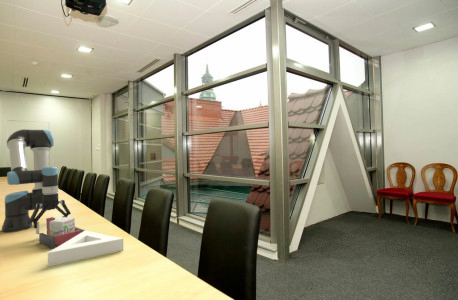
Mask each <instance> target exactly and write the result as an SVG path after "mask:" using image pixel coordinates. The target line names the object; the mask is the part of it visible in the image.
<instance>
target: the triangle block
mask: <svg viewBox="0 0 458 300" xmlns="http://www.w3.org/2000/svg"><path fill="white" fill-rule="evenodd" d="M84 230H85V229H84ZM124 248H125V247H124V238H122V237H119V236H112V235H109V234H105V233H100V232H99V233H98V232H96V231H95V232H93V231H91V230H85V231H83V232H82V233H80V234H78V235H77V236H75V237H73V238H72V239H70V240H68V241H67V242H65V243H63V244H62V245H60V246H56V247H55V248H54V249H51V250H50V251H48V253H47V266H48V267H52V266H55V265H61V264H66V263H70V262H75V261H80V259H81V260H83V259H84V260H85V259H90V258H94V257H99V256H103V255H108V254H112V253H116V252H121V251H124Z"/></svg>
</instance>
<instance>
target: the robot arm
mask: <svg viewBox="0 0 458 300" xmlns="http://www.w3.org/2000/svg"><path fill="white" fill-rule="evenodd" d="M54 144H55V143H54V138H53V134H52V131H50V130H48V129H46V130H45V129H25V128H24V129H23V128H22V129H17V130H16V131H15V132H12V133H11V134H10V135H9V136H8V138H7V139H6V146H7V149H8V150H9V159H10V160H9V161H10V163H9V164H10V171H8V172H7V173H6V176H7V177H6V180H7V185H10V186H14V185H16V186H17V185H27V184H28V185H29V184H34V187H33V188H32V189H31V192H29V191H28V190H19V191H16V192H11V193H8V194H7V195H4V202H3V203H4V214H5V215H4V219H3V220H4V221H3V223H2V226H1V232H2V233H13V232H19V231H24V230H28V229H30V228H32V227H33V228H34V229H35V234H36V235H39V234H40V222H39V220H40V219H41V217H42V216H43V215H44V214H45V212H47V211H51V210H57V211H58V212H59V213H60V214H61V215H62V217H63V218H64V217H68V216H69V215H71V211H70V209H69V208H68V206H67V204H66V202H65V200H64V199H61V200H59V182H58V181H59V172H58V171H59V170H58V167H57V166H50V153H49V152H50V151H51V150H52V147H54ZM27 147H28V148H30V151H32V152H33V153H32V154H33V155H32V156H33V170H28V169H29V168H28V163H27V156H26V155H27V154H26V148H27ZM59 204H60V205H61V207H62V208H63V209H62V208H61V207H60V206H59ZM30 211H33V212H32V213H31V216H30V215H29V214H30V213H29V212H30ZM39 211H40V212H39ZM62 217H61V218H62Z"/></svg>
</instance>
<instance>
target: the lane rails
mask: <svg viewBox="0 0 458 300" xmlns="http://www.w3.org/2000/svg"><path fill="white" fill-rule="evenodd" d="M77 230H81V233H82V232H83V231H85V229H82V228H80V227H77V226H75V231H77ZM38 236H39V237H38V239H39V240H38V241H39V244H40V245H43V246H45V247H47V248H49V249H51V250H53V249H55V248H56V247H55V238H53V237H51V236H48V235H47V233H44V232H41V233H40V232H39V234H38Z"/></svg>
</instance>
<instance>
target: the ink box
mask: <svg viewBox="0 0 458 300" xmlns="http://www.w3.org/2000/svg"><path fill="white" fill-rule="evenodd" d="M75 220H76V219H75V217H68V216H67V217H64V218H63V217H59V218H55V220H53V221H50V222H49V223H50V236H51V237H53V238H54V236H57V235H61V234H65V233H69V232H73V231H75V227H76V224H75V223H76V221H75Z"/></svg>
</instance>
